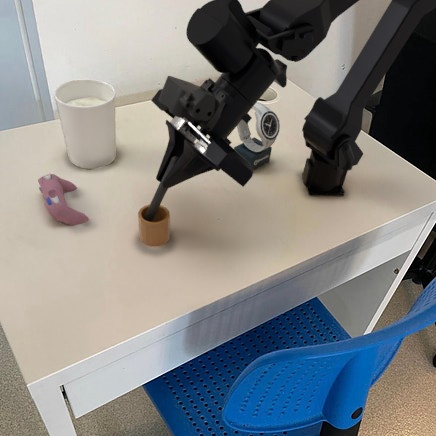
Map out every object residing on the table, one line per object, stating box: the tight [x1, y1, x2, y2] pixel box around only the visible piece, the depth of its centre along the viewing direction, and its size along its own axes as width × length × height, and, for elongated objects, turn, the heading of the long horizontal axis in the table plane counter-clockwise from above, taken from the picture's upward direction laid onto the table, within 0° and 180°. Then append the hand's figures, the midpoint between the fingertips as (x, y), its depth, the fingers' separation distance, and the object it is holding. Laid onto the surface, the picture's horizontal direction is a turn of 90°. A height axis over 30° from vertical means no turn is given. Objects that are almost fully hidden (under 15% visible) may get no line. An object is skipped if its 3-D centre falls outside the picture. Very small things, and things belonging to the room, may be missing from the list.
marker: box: [143, 156, 179, 222], centre depth 69 cm, size 6×1×10 cm, turn 122°
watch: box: [233, 101, 281, 172], centre depth 88 cm, size 6×8×11 cm
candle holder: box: [53, 78, 117, 170], centre depth 85 cm, size 10×10×12 cm
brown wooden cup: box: [137, 203, 171, 248], centre depth 73 cm, size 4×4×6 cm
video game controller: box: [37, 173, 90, 226], centre depth 76 cm, size 10×5×7 cm, turn 23°
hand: (161, 183), depth 68 cm, fingers closed on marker, 1 cm apart
